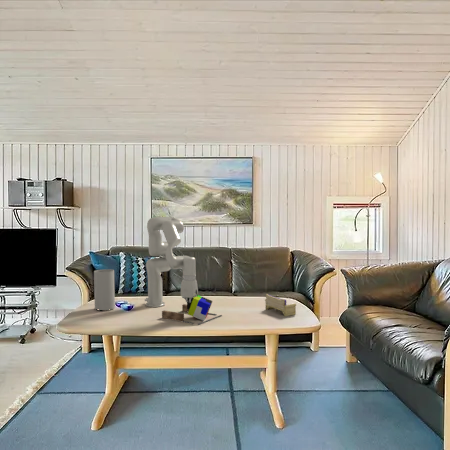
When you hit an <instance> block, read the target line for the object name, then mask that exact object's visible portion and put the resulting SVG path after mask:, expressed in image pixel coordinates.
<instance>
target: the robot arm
mask: <svg viewBox="0 0 450 450" xmlns="http://www.w3.org/2000/svg"><path fill="white" fill-rule="evenodd" d="M146 228H147V233H148V254H149V255H150V256H151V257H154V258H149V259H148V260H147V261H146V263H145V267H146V272H147V294H148V295H147V297H145V298H144V302H146V303H145V306H146V307H149V308H159V307H164V306H165V305H166V302H164V300H163V278H162V276H161V274H160V273H163V272H169V271H170V270H171V269H172V270H178V269H179V270H180V269H182V275H181V277H182V279H181V283H180V297H181V298H182V299H184V300H185V302H186V305H187V309H190V307H191V304H192V301H193V298H194V297H197V296H198V295H199V288H198V281H197V277H196V276H197V272H196V271H197V268H196V266H197V265H196V258H195V257H194V256H189V255H176V256H175V255H174V253H173V249H174V248H175V247H177V246H179V245H180V243H181V242H182V238H181V237H180V235H179V234H181V233H183V232H184V229H185V226H184V223H183V222H182V221H181V220H180V219H178V218H174V217H172V216H157V217H155V216H154V217H151V218H149V219H148V220H147V224H146ZM160 231H162V233H163V235H164V239H165V240H166V241H163V239H162V236H163V235H162V233H161V232H160Z"/></svg>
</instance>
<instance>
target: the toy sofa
mask: <svg viewBox="0 0 450 450" xmlns="http://www.w3.org/2000/svg"><path fill="white" fill-rule="evenodd" d="M264 301H265V310H271V309H275V310H279V311H281V312H282V314H283V317H288V316H289V317H290V316H293V315H296V313H297V312H296V306H297V303H290V304H287V300H286V299H285V298H280V297H276V296H273V295H271V294H268V293H266V294H265V299H264Z"/></svg>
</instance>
